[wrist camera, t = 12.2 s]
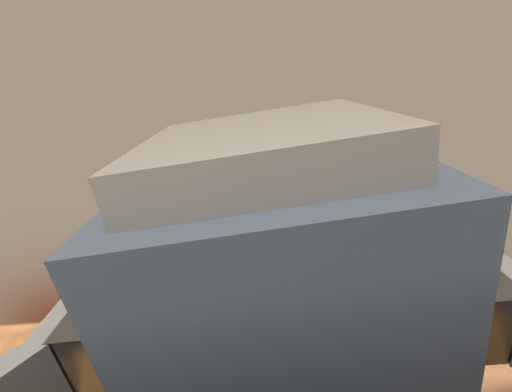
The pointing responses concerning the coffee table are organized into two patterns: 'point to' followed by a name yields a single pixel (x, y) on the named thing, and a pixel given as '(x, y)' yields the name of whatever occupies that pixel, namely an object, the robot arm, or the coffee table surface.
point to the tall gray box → (287, 258)
